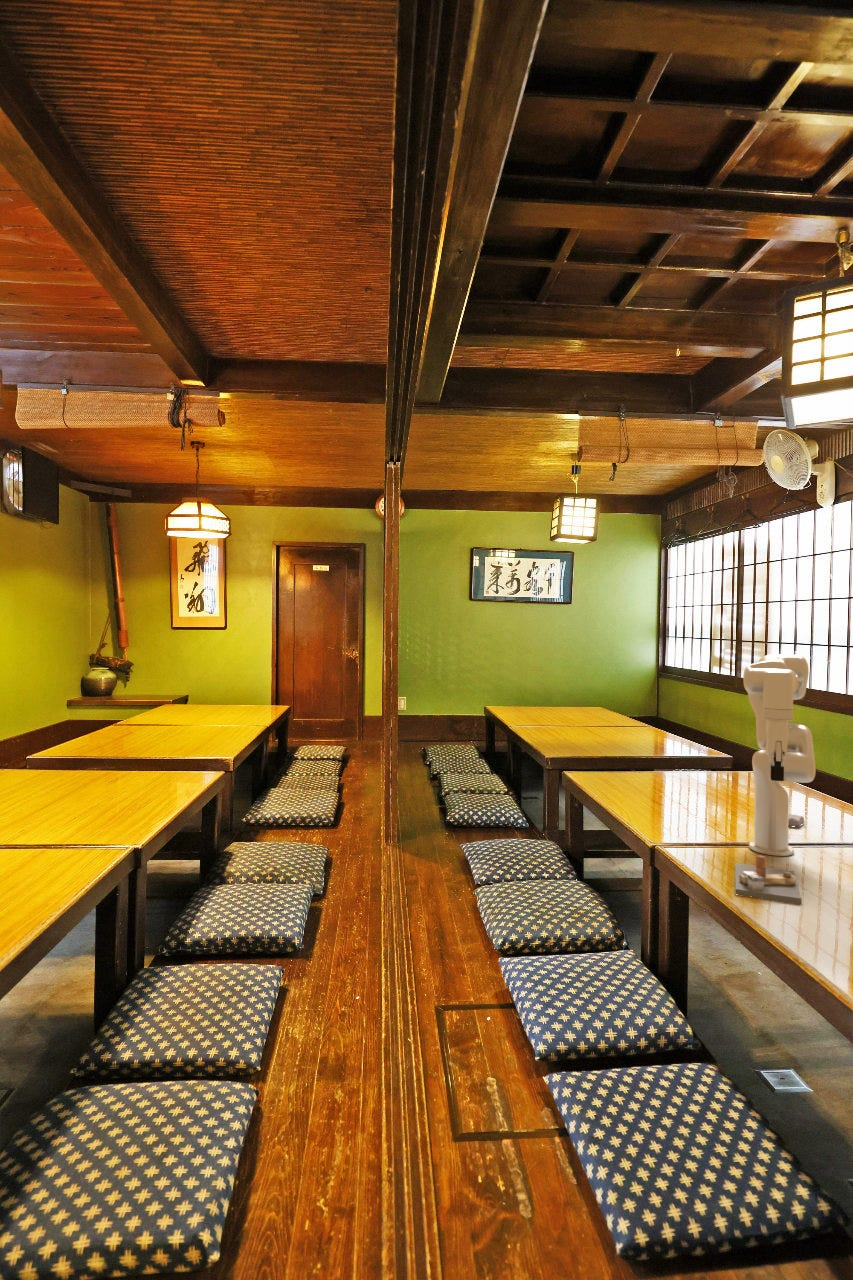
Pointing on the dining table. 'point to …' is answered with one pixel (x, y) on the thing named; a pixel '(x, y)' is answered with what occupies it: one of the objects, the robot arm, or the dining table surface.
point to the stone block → (795, 820)
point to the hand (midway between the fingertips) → (777, 780)
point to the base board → (768, 886)
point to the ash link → (769, 878)
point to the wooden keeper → (754, 880)
